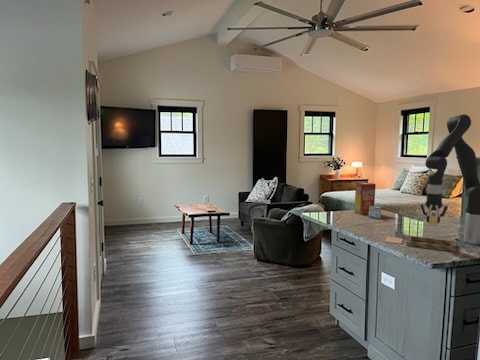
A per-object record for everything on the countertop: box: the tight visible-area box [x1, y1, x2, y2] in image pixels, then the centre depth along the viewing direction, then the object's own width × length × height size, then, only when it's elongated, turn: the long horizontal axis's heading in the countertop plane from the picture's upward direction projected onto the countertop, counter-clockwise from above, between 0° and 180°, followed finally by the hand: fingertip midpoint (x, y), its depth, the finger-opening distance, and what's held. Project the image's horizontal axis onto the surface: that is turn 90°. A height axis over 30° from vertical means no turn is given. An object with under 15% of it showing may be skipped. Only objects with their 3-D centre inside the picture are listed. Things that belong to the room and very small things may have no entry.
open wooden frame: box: [406, 235, 457, 253], centre depth 203 cm, size 24×15×2 cm, turn 62°
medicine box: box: [368, 206, 382, 220], centre depth 278 cm, size 8×4×9 cm, turn 47°
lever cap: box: [428, 211, 438, 227], centre depth 201 cm, size 4×7×6 cm, turn 153°
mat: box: [384, 236, 404, 245], centre depth 212 cm, size 9×12×1 cm
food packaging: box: [353, 182, 376, 216], centre depth 295 cm, size 13×9×25 cm
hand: (432, 222), depth 202 cm, fingers closed on lever cap, 4 cm apart
